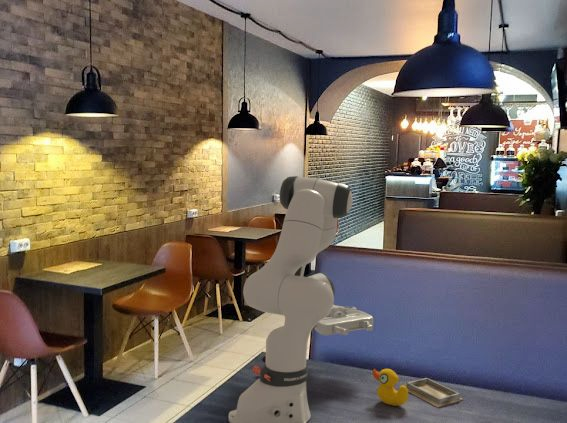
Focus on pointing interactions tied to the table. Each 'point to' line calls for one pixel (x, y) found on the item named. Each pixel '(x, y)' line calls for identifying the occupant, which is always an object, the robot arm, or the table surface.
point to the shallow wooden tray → (433, 392)
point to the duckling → (390, 388)
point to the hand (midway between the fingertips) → (359, 330)
